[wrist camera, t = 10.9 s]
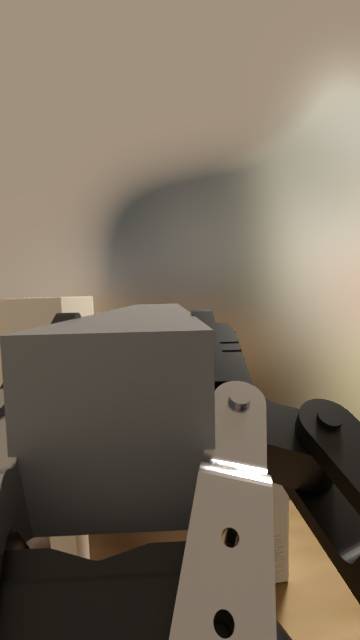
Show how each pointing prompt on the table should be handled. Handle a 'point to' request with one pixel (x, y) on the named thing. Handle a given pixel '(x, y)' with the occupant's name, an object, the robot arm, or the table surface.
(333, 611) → the table surface
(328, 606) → the table surface
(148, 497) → the grey block
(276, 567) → the skincare box
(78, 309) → the tall stand
